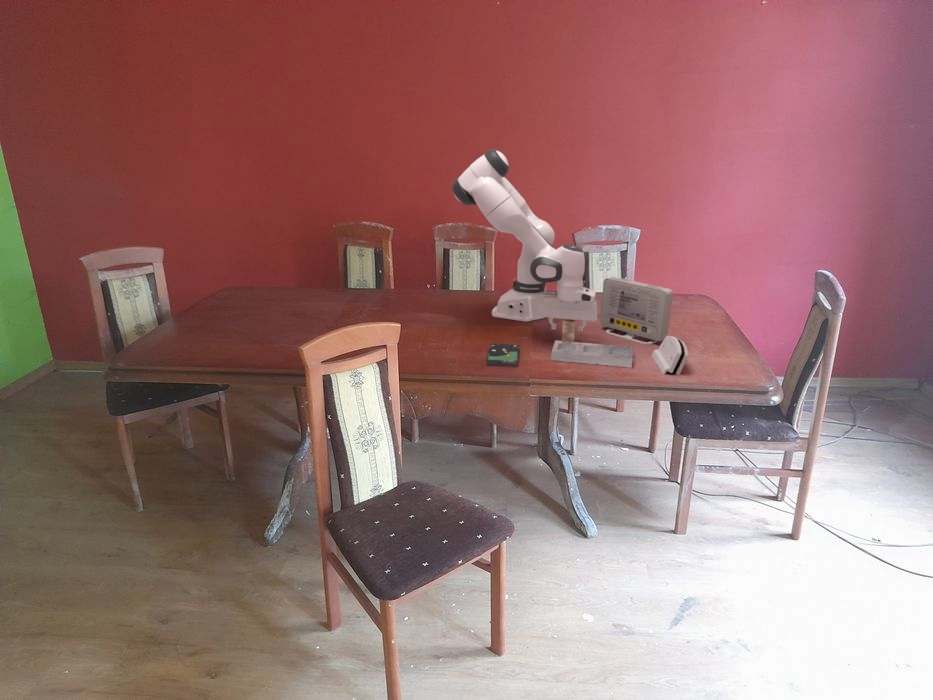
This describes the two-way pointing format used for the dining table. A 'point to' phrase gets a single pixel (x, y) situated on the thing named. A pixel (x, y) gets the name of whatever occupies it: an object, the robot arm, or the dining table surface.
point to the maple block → (568, 330)
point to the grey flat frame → (592, 353)
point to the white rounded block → (671, 355)
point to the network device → (636, 309)
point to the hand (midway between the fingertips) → (567, 330)
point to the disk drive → (503, 355)
